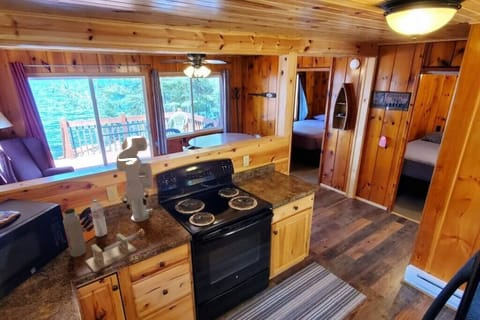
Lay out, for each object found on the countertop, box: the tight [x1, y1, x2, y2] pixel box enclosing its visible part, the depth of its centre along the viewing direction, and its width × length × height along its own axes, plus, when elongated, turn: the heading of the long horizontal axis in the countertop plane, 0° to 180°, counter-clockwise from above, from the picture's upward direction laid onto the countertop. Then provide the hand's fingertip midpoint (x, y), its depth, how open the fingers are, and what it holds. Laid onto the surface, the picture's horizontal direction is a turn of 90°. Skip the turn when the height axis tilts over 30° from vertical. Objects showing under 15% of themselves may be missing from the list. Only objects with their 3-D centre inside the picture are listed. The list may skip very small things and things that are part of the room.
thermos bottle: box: [62, 208, 87, 258], centre depth 148 cm, size 8×8×28 cm
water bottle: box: [90, 199, 108, 238], centre depth 167 cm, size 7×7×25 cm
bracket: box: [84, 233, 137, 273], centre depth 147 cm, size 24×12×10 cm, turn 140°
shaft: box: [103, 228, 146, 252], centre depth 153 cm, size 24×4×4 cm, turn 140°
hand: (136, 207), depth 160 cm, fingers open, 9 cm apart
